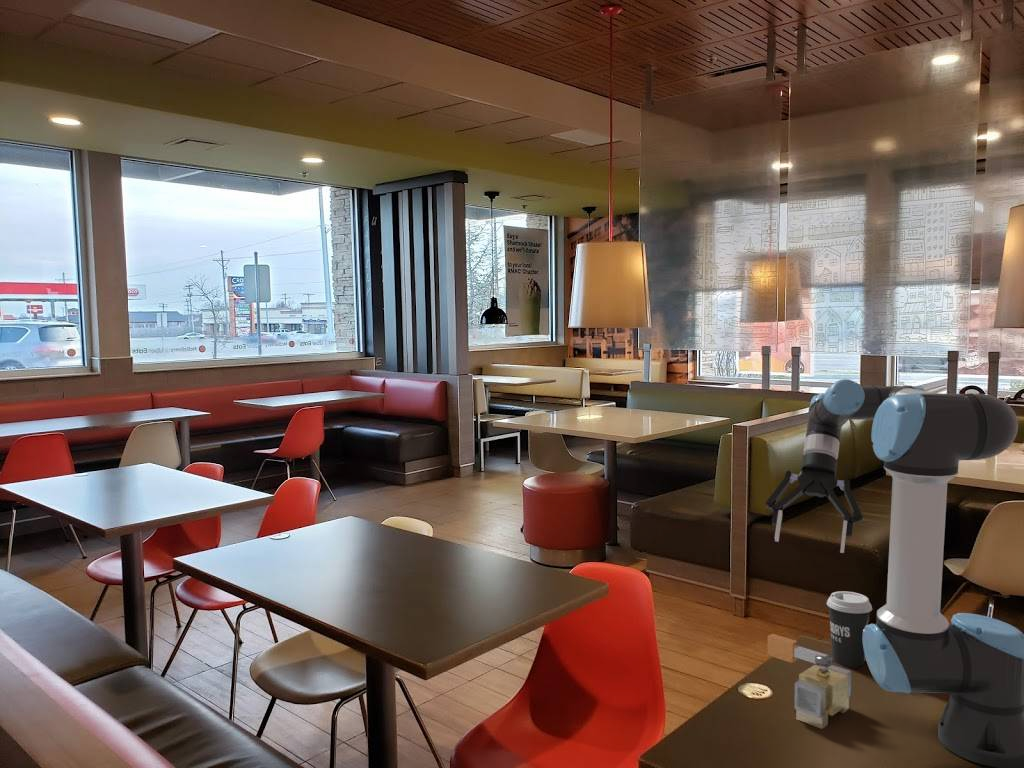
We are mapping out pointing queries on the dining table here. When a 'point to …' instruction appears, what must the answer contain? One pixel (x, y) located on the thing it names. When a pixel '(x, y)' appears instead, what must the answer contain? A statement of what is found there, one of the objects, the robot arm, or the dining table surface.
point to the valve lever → (796, 652)
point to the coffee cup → (848, 626)
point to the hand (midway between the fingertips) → (808, 545)
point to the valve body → (822, 694)
